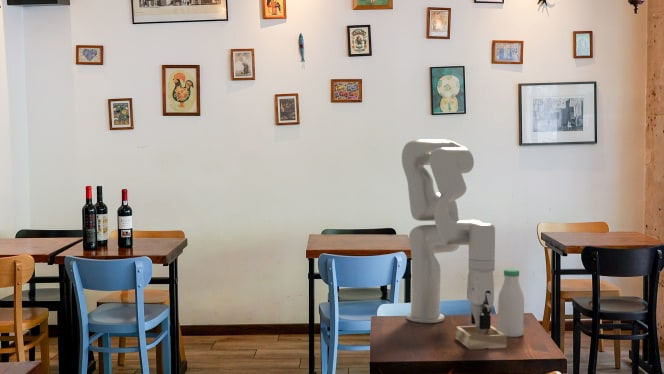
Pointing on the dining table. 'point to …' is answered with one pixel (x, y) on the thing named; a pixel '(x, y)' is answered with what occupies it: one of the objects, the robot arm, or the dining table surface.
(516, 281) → the milk bottle
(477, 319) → the lightbulb
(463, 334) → the holder
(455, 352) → the dining table surface
